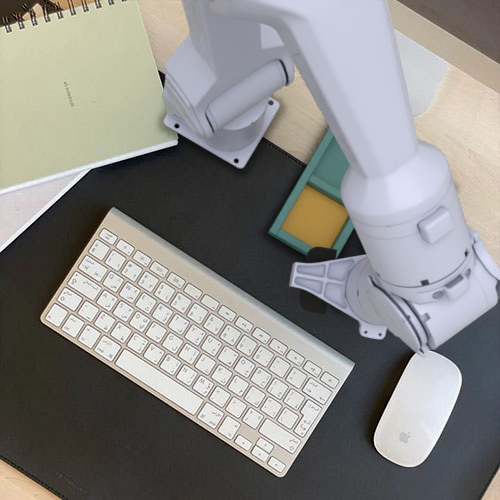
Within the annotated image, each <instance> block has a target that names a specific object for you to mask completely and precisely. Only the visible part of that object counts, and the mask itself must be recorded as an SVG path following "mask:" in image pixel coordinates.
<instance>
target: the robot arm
mask: <svg viewBox="0 0 500 500" xmlns="http://www.w3.org/2000/svg"><path fill="white" fill-rule="evenodd" d="M181 3H182V7H183V11H184V16H185V18H186V22H187V26H188V29H189V33H188V35H187V36H186V37H185V38H184V39H183V41H182V42H181V43H180V44H179V46H178V47H177V48H176V49H175V51H174V52H173V53H171V55H170V57H168V59H167V60H166V61H165V63H164V65H163V68H164V71H165V75H164V78H165V80H164V87H163V90H162V94H161V95H162V101H163V104H164V107H165V110H166V115H165V116H164V118H163V124H164V125H165V127H167V128H169V129H170V130H172V131H174V132H176V133H177V134H179V135H181V136H182V137H184V138H186V139H187V140H189V141H191V142H192V143H194V144H195V145H198V146H199V147H201V148H202V149H204V150H206V151H208V152H210V153H211V154H213V155H215V156H216V157H218V158H220V159H221V160H223V161H225V162H227V163H229V164H230V165H232V166H234V167H235V168H237V169H240V170H242V169H244V168H245V167H246V165H247V163H248V162H249V160H250V158H251V157H252V155H253V153H254V152H255V150H256V148H257V147H258V145H259V144H260V142H261V140H262V138H263V136H264V134H265V133H266V131H267V130H268V128H269V126H270V125H271V124H272V121H273V120H274V118H275V116H276V115H277V113H278V111H279V110H280V107H281V104H280V102H279V101H278V100H276V99H275V98H273V97H272V95H274V94H275V93H276V92H278V91H279V90H280V89H282V88H283V87H288V86H290V85H291V84H293V83H294V80H295V73H296V69H297V71H298V73H299V75H300V77H301V78H302V80H303V82H304V84H305V86H306V88H307V89H308V91H309V93H310V95H311V96H312V98H313V100H314V102H315V104H316V106H317V107H318V110H319V111H320V113H321V115H322V117H323V119H324V120H325V122H326V123H327V125H328V129H329V128H330V129H331V131H332V133H333V135H334V137H335V138H336V140H337V142H338V144H339V146H340V147H341V149H342V151H343V153H344V155H345V157H346V158H347V160H348V162H349V164H350V166H349V168H348V170H347V171H346V173H345V175H344V178H343V180H342V183H341V190H340V193H341V198H342V201H343V203H344V206H345V208H346V210H347V212H348V214H349V216H350V219H351V221H352V223H353V225H354V230H355V232H356V235H357V237H358V239H359V241H360V243H361V245H362V247H363V250H364V252H365V254H361V255H354V256H349V257H344V258H336V254H337V250H336V249H330V248H325V247H314V248H312V249H310V250H309V251H308V253H307V256H306V255H305V262H298V261H295V262H293V263H292V266H291V271H290V277H289V282H288V283H289V284H288V286H289V287H291V288H296V289H300V292H299V296H298V297H299V298H298V303H299V306H300V308H301V309H302V310H303V311H305V312H309V313H313V314H314V313H315V314H320V315H326V314H327V313H326V312H327V306H328V304H329V305H331V306H333V308H336V309H338V310H339V311H341V312H342V313H344V314H346V315H348V316H349V317H351V318H353V319H354V320H356V321H358V323H359V327H358V333H359V334H360V336H362V337H364V338H369V339H375V340H383V339H384V338H385V337H386V334H387V331H389V332H390V333H392V334H393V336H394V337H396V338H399V339H400V340H401V341H402V342H403V343H405V345H406V346H408V347H409V348H410V349H411V350H412V351H413V352H414V353H416V354H417V355H418V356H420V357H422V358H426V355H425V354H427V353H428V352H429V351H430V350H431V351H434V350H436V349H437V348H439V347H440V346H442V345H443V344H444V343H446V342H447V341H449V340H450V339H451V338H453V337H454V336H455V335H457V334H458V333H459V332H461V331H462V330H463V329H465V328H467V327H468V326H469V325H471V324H472V323H473V322H474V321H476V320H477V319H479V318H480V317H481V316H483V315H484V314H486V313H487V312H489V310H492V309H493V308H494V307H495V306H496V305H497V304H498V301H499V299H500V267H499V265H498V263H497V262H496V261H495V259H494V257H493V256H492V255H491V253H490V251H488V250H487V248H486V246H485V243H484V239H483V238H482V237H481V236H480V234H479V232H478V231H476V230H475V229H473V228H472V227H470V226H469V225H468V224H467V221H466V218H465V217H466V216H465V215H464V211H463V208H462V205H461V204H462V203H461V200H460V197H459V194H458V191H457V187H456V184H455V180H454V177H453V173H452V171H451V166H450V163H449V160H448V157H447V156H446V154H445V153H444V152H443V151H442V149H440V148H439V147H437V146H436V145H434V144H432V143H430V142H428V141H424V140H422V139H418V134H417V130H416V125H415V120H414V115H413V111H412V105H411V101H410V97H409V92H408V87H407V84H406V78H405V74H404V69H403V68H404V67H403V64H402V60H401V54H400V49H399V45H398V41H397V36H396V31H395V26H394V22H393V17H392V13H391V12H392V11H391V8H390V3H389V0H181ZM270 102H271V103H272V104H269V103H270ZM176 125H178V126H179V127H177V128H176V127H175V126H176ZM235 160H238V162H235Z"/></svg>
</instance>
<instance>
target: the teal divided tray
mask: <svg viewBox="0 0 500 500" xmlns="http://www.w3.org/2000/svg"><path fill="white" fill-rule="evenodd" d="M349 166H350V164H349V162H348V160H347V158H346V157H345V155H344V153H343V151H342V149H341V147H340V146H339V144H338V142H337V140H336V138H335V137H334V135H333V133H332V131H331V129H330V128H329V127H328V129H327V130H326V132H325V134H324V135H323V137H322V139H321V141H320V143H319V144H318V146H317V147H316V149H315V151H314V153H313V155H312V156H311V158H310V160H309V161H308V163H307V165H306V166H305V168H304V170H303V172H302V173H301V175H300V176H299V178H298V180H297V182H296V183H295V185H294V187H293V188H292V190H291V192H290V194H289V195H288V197H287V199H286V201H285V202H284V204H283V206H282V207H281V209H280V211H279V212H278V214H277V216H276V218H275V219H274V221H273V222H272V225H271V226H270V228H269V229H268V232H267V234H268V235H270V236H272V237H273V238H275V239H277V240H278V241H280V242H282V243H283V244H285V245H286V246H289V247H291V248H292V249H294V250H295V251H297V252H298V253H300V254H303V255H304V256H305V257H306V256H307V253H308V251H309V250H310V249H312V248H314V247H325V248H330V249H336V250H337V254H336V259H338V257H339V256H340V254H341V252H342V250H343V248H344V246H345V245H346V243H347V241H348V239H349V238H350V235H351V234H352V232H353V230H355V228H354V225H353V223H352V221H351V219H350V216H349V214H348V212H347V210H346V208H345V206H344V203H343V201H342V198H341V193H340V190H341V183H342V180H343V178H344V175H345V173H346V171H347V170H348V168H349Z"/></svg>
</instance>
